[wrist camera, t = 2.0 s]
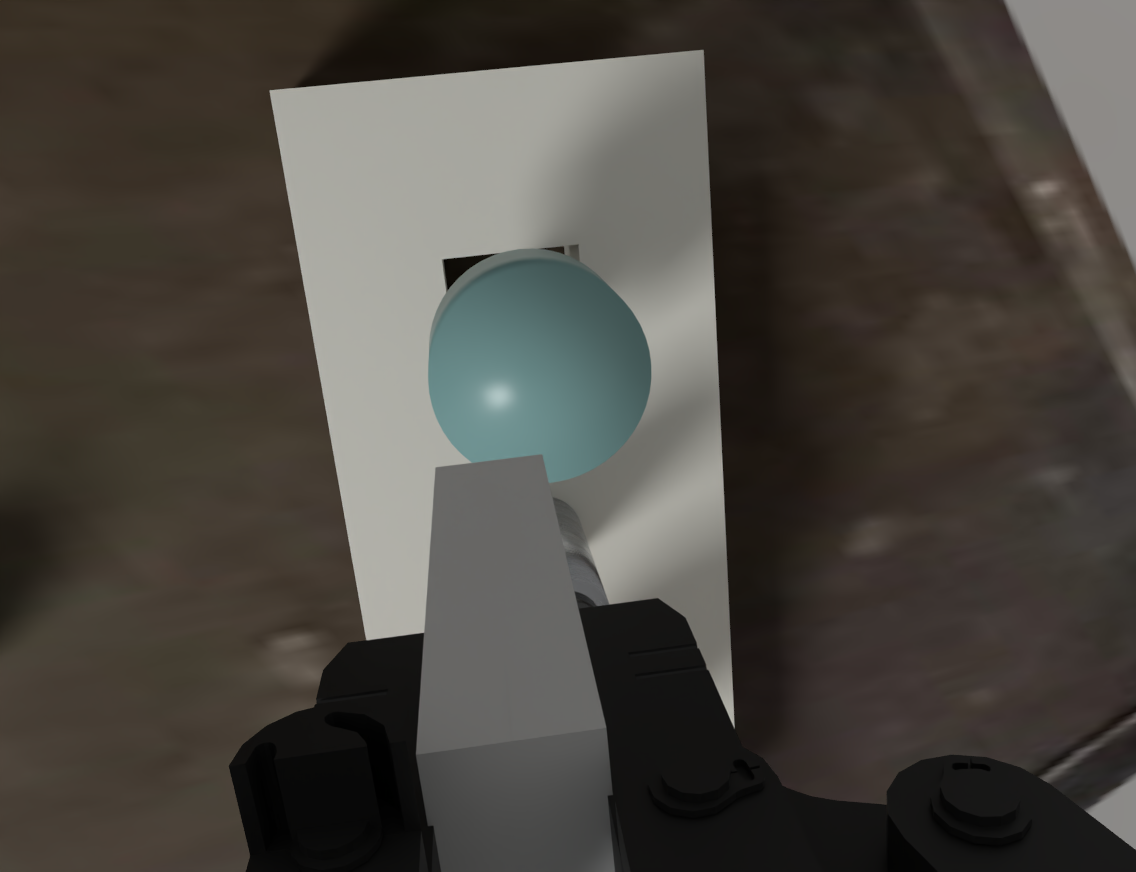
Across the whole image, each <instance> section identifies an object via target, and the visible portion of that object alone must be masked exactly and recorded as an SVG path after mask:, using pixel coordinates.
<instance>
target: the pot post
mask: <svg viewBox="0 0 1136 872" xmlns="http://www.w3.org/2000/svg"><path fill="white" fill-rule="evenodd" d="M552 498H553V503H554V507H555V511H556V515H557V520H558V524H559V528H560V532H561V537H562V541H563V545H564V549H565V554H566V558H567V562H568V567H569V571H570V575H571V579H572V584H573V588H574V592H575V596H576V601H577V605H578V609H580V608H587V607H595V606H602V605H609V602H608V599H607V596H606V593H605V590H604V588H603V585H602V582H601V579H600V576H599V573H598V571H597V568H596V565H595V562H594V559H593V556H592V554H591V551H590V548H589V545H588V542H587V539H586V537H585V534H584V531H583V528H582V525H581V522H580V519H579V517H578V515H577V514H576V512H575V511H574V510H573V509H572V507H571V506H569V505H568V504H567V503H565V502H564V501H562V500H560V499H557V498H554V497H552Z"/></svg>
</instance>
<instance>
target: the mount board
mask: <svg viewBox="0 0 1136 872" xmlns="http://www.w3.org/2000/svg"><path fill="white" fill-rule="evenodd" d="M270 96H271V101H272V107H273V113H274V118H275V124H276V130H277V135H278V141H279V147H280V152H281V158H282V164H283V169H284V175H285V181H286V186H287V192H288V198H289V204H290V209H291V215H292V221H293V226H294V232H295V238H296V243H297V249H298V255H299V260H300V266H301V272H302V277H303V283H304V289H305V294H306V300H307V306H308V311H309V317H310V323H311V328H312V334H313V340H314V345H315V351H316V357H317V362H318V368H319V374H320V379H321V385H322V391H323V396H324V402H325V408H326V413H327V419H328V425H329V430H330V436H331V442H332V447H333V453H334V459H335V464H336V470H337V476H338V482H339V487H340V493H341V499H342V504H343V510H344V516H345V521H346V527H347V533H348V538H349V544H350V550H351V555H352V561H353V567H354V572H355V578H356V584H357V589H358V595H359V601H360V606H361V612H362V618H363V623H364V629H365V635H366V640H373V639H380V638H388V637H395V636H403V635H410V634H418V633H424V629H425V614H426V599H427V584H428V570H429V555H430V540H431V526H432V511H433V496H434V481H435V467H442V466H450V465H459V464H467V463H472V462H470V461H469V460H468V459H467V458H465V457H464V456H463V455H462V454H461V453H460V452H459V451H458V450H457V449H456V448H455V447H454V446H453V445H452V444H451V442H450V441H449V439H448V438H447V436H446V435H445V434H444V432H443V430H442V428H441V426H440V425H439V423H438V421H437V419H436V416H435V413H434V410H433V407H432V404H431V399H430V394H429V384H428V362H429V339H430V332H431V327H432V322H433V319H434V316H435V313H436V310H437V308H438V306H439V304H440V302H441V300H442V298H443V297H444V295H445V294H446V293H447V291H448V290H447V282H446V275H445V267H444V259H450V258H459V257H468V256H477V255H486V254H495V253H502V252H506V251H511V250H517V249H531V248H533V249H541V248H550V247H559V246H564V253H565V255H567V256H570V257H572V258H574V259H576V260H578V261H580V262H581V263H583V264H585V265H586V266H587V267H589V268H590V269H592V270H593V271H594V272H595V273H596V274H597V275H598V276H600V277H601V278H602V279H603V280H604V281H605V282H606V283H607V284H608V285H609V286H610V287H611V288H612V289H613V290H614V291H615V292H616V293H617V294H618V295H619V297H620V298H621V299H622V300H623V301H624V302H625V303H626V304H627V305H628V307H629V308H630V309H631V310H632V312H633V313H634V315H635V317H636V318H637V320H638V322H639V323H640V325H641V327H642V330H643V332H644V334H645V337H646V340H647V344H648V347H649V351H650V358H651V386H650V393H649V397H648V401H647V405H646V408H645V410H644V413H643V415H642V417H641V420H640V422H639V423H638V425H637V427H636V429H635V430H634V432H633V433H632V435H631V436H630V437H629V439H628V440H627V441H626V443H625V444H624V445H623V446H622V447H621V448H620V449H619V450H618V451H617V452H616V453H615V454H614V455H613V456H611V457H610V458H609V459H608V460H606V461H605V462H604V463H602V464H601V465H599V466H597V467H596V468H594V469H593V470H591V471H588V472H586V473H584V474H582V475H580V476H577V477H574V478H571V479H568V480H564V481H558V482H553V483H549V486H550V490H551V494H552V497H554V498H557V499H560V500H562V501H564V502H565V503H567V504H568V505H569V506H571V507H572V509H573V510H574V511H575V512H576V514H577V515H578V517H579V519H580V522H581V525H582V528H583V531H584V534H585V537H586V539H587V542H588V545H589V548H590V551H591V554H592V556H593V559H594V562H595V565H596V568H597V571H598V573H599V576H600V579H601V582H602V585H603V588H604V590H605V593H606V596H607V599H608V602H609V604H617V603H624V602H632V601H639V600H647V599H654V598H659V599H660V600H662V601H663V602H664V603H666V604H667V605H669V606H670V607H671V608H673V609H674V610H676V611H677V612H679V613H680V614H681V615H683V616H684V617H686V620H687V622H688V624H689V626H690V629H691V631H692V633H693V635H694V638H695V640H696V642H697V648H699V649H700V651H701V654H702V656H703V658H704V660H705V663H706V667H707V670H709V672H710V674H711V676H712V679H713V681H714V683H715V685H716V688H717V690H718V692H719V695H720V697H721V699H722V701H723V704H724V706H725V708H726V710H727V713H728V715H729V717H730V720H731V722H732V724H733V726H734V704H733V683H732V661H731V639H730V617H729V595H728V573H727V552H726V530H725V508H724V486H723V464H722V442H721V420H720V399H719V377H718V355H717V333H716V311H715V289H714V267H713V246H712V224H711V202H710V180H709V158H708V136H707V115H706V93H705V71H704V50H696V51H686V52H675V53H664V54H654V55H643V56H632V57H622V58H611V59H600V60H590V61H579V62H568V63H558V64H547V65H536V66H526V67H515V68H504V69H494V70H483V71H472V72H462V73H451V74H440V75H430V76H419V77H408V78H398V79H387V80H376V81H366V82H355V83H344V84H334V85H323V86H313V87H302V88H291V89H281V90H270ZM734 729H735V726H734Z"/></svg>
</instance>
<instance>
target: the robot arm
mask: <svg viewBox="0 0 1136 872" xmlns="http://www.w3.org/2000/svg"><path fill="white" fill-rule="evenodd" d="M316 700H317V704H315V706H314V708H310V709H306V710H302V711H298V712H295V713H293V714H291V715H289V716H286V717H284V718H282V719H280V720H278V721H276V722H274V723H271V724H269V725H267V726H266V727H264V728H263V729H262V730H261V731H259V732H258V733H257V734H255V735H254V736H253V737H252V738H250V739H249V740H248V741H247V742H245V743H244V744H243V745H242V746H241V748H240V749H239V751H238V753H237V754H236V756H235V757H234V759H233V760H232V762H231V763H230V765H229V769H230V773H231V777H232V781H233V785H234V789H235V794H236V798H237V802H238V806H239V810H240V814H241V819H242V823H243V827H244V831H245V835H246V839H247V843H248V848H249V852H250V859H249V862H248V866H247V870H246V872H1136V850H1135V849H1134V848H1132V847H1131V846H1129V844H1127V843H1126V842H1124V841H1123V840H1122V839H1121V838H1119V837H1118V836H1117V835H1115V834H1114V833H1113V832H1111V831H1110V830H1109V829H1108V828H1106V827H1105V826H1104V825H1102V824H1101V823H1100V822H1098V821H1097V820H1096V819H1095V818H1093V817H1092V816H1091V815H1089V814H1088V813H1087V812H1086V811H1084V810H1083V809H1082V808H1080V807H1079V806H1078V805H1076V804H1075V803H1074V802H1072V801H1071V800H1070V799H1069V798H1067V797H1066V796H1065V795H1063V794H1062V793H1061V792H1059V791H1058V790H1057V789H1056V788H1054V787H1053V786H1052V785H1050V784H1049V783H1047V782H1045V781H1043V780H1042V779H1040V778H1038V777H1036V776H1035V775H1033V774H1031V773H1029V772H1028V771H1026V770H1024V769H1022V768H1021V767H1017V766H1014V765H1011V764H1007V763H1004V762H1000V761H997V760H994V759H990V758H987V757H976V756H962V755H948V756H942V757H936V758H931V759H925V760H921V761H919V762H917V763H915V764H913V765H912V766H910V767H908V768H906V769H905V770H903V771H901V772H899V773H898V775H897V776H896V778H895V779H894V781H893V782H892V784H891V786H890V787H889V789H888V790H887V805H882V804H870V803H859V802H847V801H836V800H830V799H824V798H818V797H812V796H809V795H806V794H803V793H800V792H797V791H794V790H791V789H788V788H786V787H784V786H782V785H781V782H780V780H779V778H778V776H777V775H776V774H775V773H774V771H773V770H772V769H771V768H770V766H769V765H768V764H767V763H766V762H765V760H764V759H763V758H761V757H760V756H758V755H756V754H754V753H752V752H751V751H749V750H747V749H745V748H743V747H742V745H741V742H740V740H739V738H738V735H737V733H736V731H735V729H734V726H733V724H732V722H731V720H730V717H729V715H728V713H727V710H726V708H725V706H724V704H723V701H722V699H721V697H720V695H719V692H718V690H717V688H716V685H715V683H714V681H713V679H712V676H711V674H710V672H709V670H707V667H706V663H705V660H704V658H703V656H702V654H701V651H700V649H699V648H697V642H696V640H695V638H694V635H693V633H692V631H691V629H690V626H689V624H688V622H687V620H686V617H684V616H683V615H681V614H680V613H679V612H677V611H676V610H674V609H673V608H671V607H670V606H669V605H667V604H666V603H664V602H663V601H662V600H660V599H659V598H654V599H647V600H639V601H632V602H624V603H617V604H609V605H602V606H595V607H587V608H580V609H578V605H577V601H576V596H575V592H574V588H573V584H572V579H571V575H570V571H569V567H568V562H567V558H566V554H565V549H564V545H563V541H562V537H561V532H560V528H559V524H558V520H557V515H556V511H555V507H554V503H553V498H552V494H551V490H550V486H549V481H548V477H547V473H546V469H545V464H544V460H543V456H542V454H540V455H532V456H524V457H515V458H507V459H499V460H491V461H483V462H475V463H467V464H459V465H450V466H442V467H435V481H434V496H433V511H432V526H431V540H430V555H429V570H428V584H427V599H426V614H425V629H424V633H418V634H410V635H403V636H395V637H388V638H380V639H373V640H365V641H358V642H350V643H347V644H346V645H345V647H344V648H343V649H342V650H341V651H340V652H339V653H338V654H337V655H336V656H335V658H334V659H333V660H332V661H331V662H330V663H329V664H328V665H327V666H326V668H325V669H324V670H323V673H322V677H321V681H320V686H319V690H318V694H317V698H316Z"/></svg>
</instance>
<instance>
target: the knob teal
mask: <svg viewBox="0 0 1136 872" xmlns="http://www.w3.org/2000/svg"><path fill="white" fill-rule="evenodd" d="M428 384H429V394H430V399H431V404H432V407H433V410H434V413H435V416H436V419H437V421H438V423H439V425H440V426H441V428H442V430H443V432H444V434H445V435H446V436H447V438H448V439H449V441H450V442H451V444H452V445H453V446H454V447H455V448H456V449H457V450H458V451H459V452H460V453H461V454H462V455H463V456H464V457H465V458H467V459H468V460H469V461H470V462H472V463H475V462H483V461H491V460H499V459H507V458H515V457H524V456H532V455H540V454H542V456H543V460H544V464H545V469H546V473H547V477H548V481H549V483H553V482H558V481H564V480H568V479H571V478H574V477H577V476H580V475H582V474H584V473H586V472H588V471H591V470H593V469H594V468H596V467H597V466H599V465H601V464H602V463H604V462H605V461H606V460H608V459H609V458H610V457H611V456H613V455H614V454H615V453H616V452H617V451H618V450H619V449H620V448H621V447H622V446H623V445H624V444H625V443H626V441H627V440H628V439H629V437H630V436H631V435H632V433H633V432H634V430H635V429H636V427H637V425H638V423H639V422H640V420H641V417H642V415H643V413H644V410H645V408H646V405H647V401H648V397H649V393H650V386H651V358H650V351H649V347H648V344H647V340H646V337H645V334H644V332H643V330H642V327H641V325H640V323H639V322H638V320H637V318H636V317H635V315H634V313H633V312H632V310H631V309H630V308H629V307H628V305H627V304H626V303H625V302H624V301H623V300H622V299H621V298H620V297H619V295H618V294H617V293H616V292H615V291H614V290H613V289H612V288H611V287H610V286H609V285H608V284H607V283H606V282H605V281H604V280H603V279H602V278H601V277H600V276H598V275H597V274H596V273H595V272H594V271H593V270H592V269H590V268H589V267H587V266H586V265H585V264H583V263H581V262H580V261H578V260H576V259H574V258H572V257H570V256H567V255H564V254H562V253H559V252H554V251H550V250H545V249H533V248H531V249H517V250H511V251H506V252H502V253H499V254H496V255H493V256H491V257H489V258H487V259H484V260H482V261H480V262H479V263H477V264H476V265H474V266H473V267H471V268H470V269H468V270H467V271H466V272H465V273H464V274H462V275H461V276H460V277H459V278H458V279H457V280H456V281H455V282H454V284H453V285H452V286H451V287H450V288H449V290H448V291H447V293H446V294H445V295H444V297H443V298H442V300H441V302H440V304H439V306H438V308H437V310H436V313H435V316H434V319H433V322H432V327H431V332H430V339H429V362H428Z"/></svg>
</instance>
